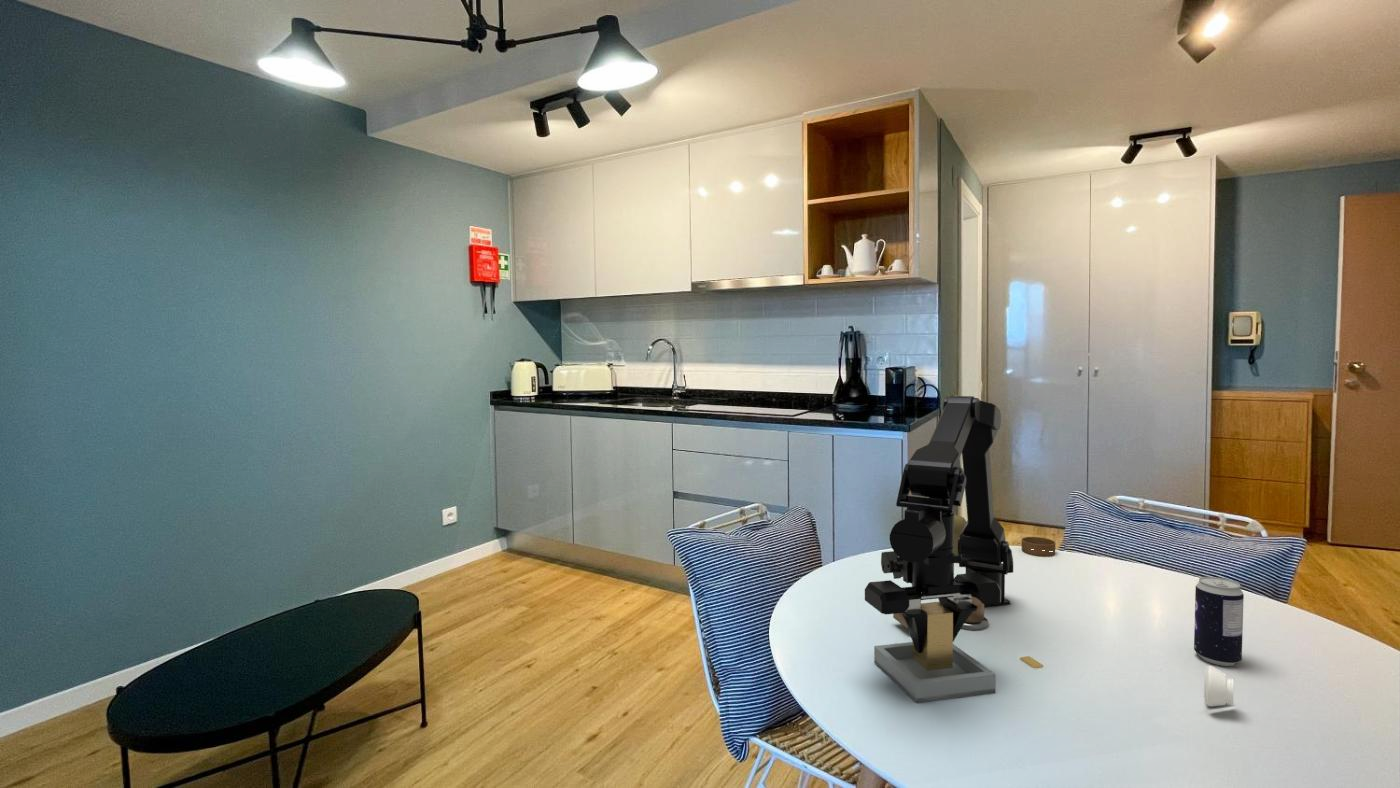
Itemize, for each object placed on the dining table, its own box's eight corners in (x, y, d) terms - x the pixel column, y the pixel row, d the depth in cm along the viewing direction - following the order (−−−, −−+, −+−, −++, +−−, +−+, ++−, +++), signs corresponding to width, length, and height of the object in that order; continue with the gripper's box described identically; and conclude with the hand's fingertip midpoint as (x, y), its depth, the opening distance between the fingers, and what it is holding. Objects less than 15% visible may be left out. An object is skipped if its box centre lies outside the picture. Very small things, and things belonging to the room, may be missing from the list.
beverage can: (1231, 654, 100) (1233, 577, 99) (1248, 670, 95) (1251, 590, 94) (1187, 649, 102) (1189, 574, 101) (1202, 665, 97) (1204, 586, 96)
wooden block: (936, 655, 96) (937, 602, 96) (952, 667, 92) (953, 612, 92) (912, 658, 95) (912, 605, 95) (927, 670, 91) (927, 615, 91)
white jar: (1204, 695, 88) (1205, 659, 88) (1232, 702, 86) (1233, 665, 86) (1203, 710, 84) (1204, 673, 84) (1232, 718, 82) (1233, 680, 82)
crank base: (973, 614, 117) (973, 610, 117) (1057, 665, 97) (1057, 660, 97) (941, 617, 115) (941, 613, 115) (1019, 669, 96) (1019, 665, 96)
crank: (972, 610, 116) (972, 594, 116) (990, 621, 111) (990, 605, 111) (893, 618, 113) (893, 602, 113) (908, 629, 108) (908, 613, 108)
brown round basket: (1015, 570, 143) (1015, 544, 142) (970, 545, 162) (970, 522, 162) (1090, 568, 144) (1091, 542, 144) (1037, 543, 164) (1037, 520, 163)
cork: (963, 560, 148) (963, 513, 148) (971, 568, 142) (972, 519, 142) (936, 559, 149) (936, 512, 149) (943, 568, 143) (944, 519, 143)
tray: (945, 654, 101) (945, 638, 101) (995, 692, 89) (995, 674, 89) (874, 662, 98) (874, 646, 98) (916, 703, 87) (916, 684, 87)
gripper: (957, 526, 103) (956, 622, 103) (848, 534, 99) (848, 634, 100) (1004, 545, 92) (1003, 653, 93) (883, 555, 88) (883, 667, 89)
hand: (932, 650), depth 94 cm, fingers closed on wooden block, 4 cm apart
